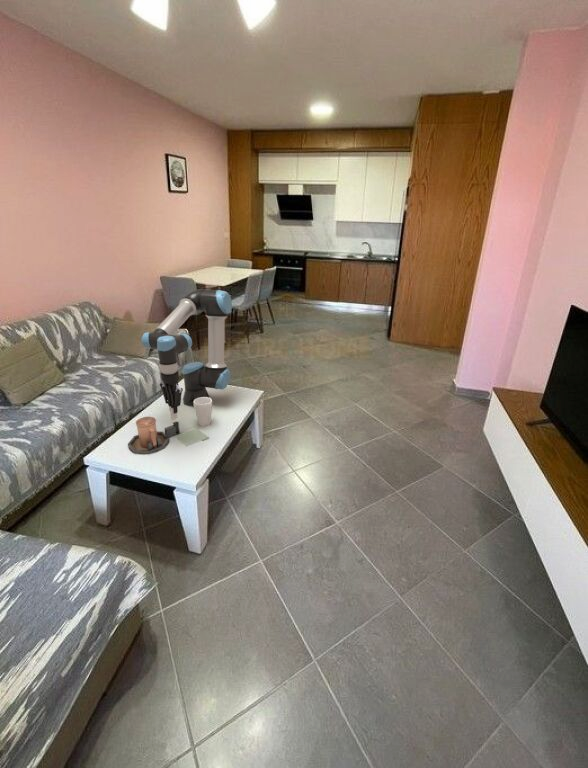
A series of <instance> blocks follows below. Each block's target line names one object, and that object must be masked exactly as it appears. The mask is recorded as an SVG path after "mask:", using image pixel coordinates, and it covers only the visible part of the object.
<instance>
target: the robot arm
mask: <svg viewBox="0 0 588 768" xmlns="http://www.w3.org/2000/svg"><path fill="white" fill-rule="evenodd" d="M232 302H233V301H232V297H231V295H230V294H229V292H227V291H225V290H220V289H204V288H198V289H195V290H193V291H190V292H189V293H187V294H186V295H185V296H183V297H182V298H181V299H180V301H179V303H178V306H177V307H175V308H174V309H173V311H171V312H170V314H169V315H167V317H166V318H164V319H163V320H162V322H160V324H158V326H157V327H156V328H155V329H154V330H153V331H152V332H151V331H149V332H144V333H143V335H142V337H141V343H142V346H143V347H144V348H145V349H150V350H157V353H158V361H159V372H160V379H161V381H162V382H161V383H159V386H160V388H161V392H162V395H163V399H164V403H165V404H167V405H168V407H169V412H170V419H171V420H173V421H174V420H176V419H178V418H179V416H178V415H179V414H178V412H179V410H178V409H179V408H178V407H180V406H181V404H182V402H183V404H184V405H186V406H188V407H194V404H193V401H194V400H195V399H197V398H200V397H208V398H210V394H209V392H208V390H207V388H209V389H215V390H224V389H226V388H227V387H228V385H229V384H230V381H231V371H230V370H229V369H228V368H227V367H228V366H227V364H226V363H225V323H226V322H225V321H226V319H227V318H228V315H229V314H230V313H231V312H232V309H233V303H232ZM197 312H204V313H205V317H206V318H207V319H208V321H207V322H208V326H207V327H208V331H207V332H208V336H207V338H208V341H207V342H208V343H207V344H208V348H207V349H208V352H207V353H208V354H207V357H208V360H207V361H208V362H207V363H206V364H204V362H202V361H194V362H190V363H187V364H184V366H183V368H182V369H183V370H182V372H183V373H182V375H183V380H184V381H183V383H184V393H183V388H182V387H180V386H179V385H180V384H179V381H178V380H179V378H180V373H179V367H178V357H177V356H178V355H180V354H182V353H185V352H186V351H188V350H189V349H190V348H192V346H193V340H192V338H191V336H190V335H188V334H187V333H181V334H179V335H174V334H175V333H176V332H177V331H178V330H179V329H180V327H182V325H183V324H185V322H186V321H187V320H188V319H189V317H190V316H192V315H195V314H196V313H197ZM182 393H183V397H182Z"/></svg>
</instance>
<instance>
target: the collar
mask: <svg viewBox="0 0 588 768" xmlns="http://www.w3.org/2000/svg"><path fill="white" fill-rule="evenodd" d="M178 434H181V433H180V423H179V421H173V422H172V425H169V426H166V427H164V431H161V430H160V431H158V430H157V435H162V436H164V437H165V438H166V440H165V442H164V443H163V445H162V444H161V440H160V439H159V438H156V443H157V445H156V446H157V447H156V448H153V447H152V443H151V442H150V441H148V442H146V443H147V449H148V450H136V449H135V448H134V447H133V446H132V443H133V442H134V441H135V440H136V439H137V438H139V435H138V434H137V435H134V436H133V437H132V438H131V439H130V441H129V442H128V443H127V447H128V449H129V448H130V449H131V450H132V451H133V452H134V453H133V454H135V453H147V454H146V455H151V454H150V453H152V452H155V451H158V450H160V449H162V450H164V449H165V448H166V447H167V446H168V445H167V443H168V441H169V442H170V440H171V439H170V437H172V436H176V435H178ZM166 445H167V446H166ZM165 446H166V447H165ZM163 448H164V449H163ZM158 452H159V451H158ZM152 454H153V453H152Z"/></svg>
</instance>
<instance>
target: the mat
mask: <svg viewBox="0 0 588 768" xmlns="http://www.w3.org/2000/svg"><path fill="white" fill-rule="evenodd" d="M174 437H175V438H176V439H177V440H179V441H180V442H181V443H182V444H183V445H185V446H186V447H188V446H191V445H194V444H195V443H199V442H201V441H203V442H204V441H206V440H209V439H210V437H209V436H208V435H207V434H205V433H204V432H203V431H202V430H200V429H199V428H198V427H195V428H192V429H190V430H187V431H184V432H181V433H179V434H175V435H174Z"/></svg>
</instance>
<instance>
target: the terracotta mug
mask: <svg viewBox="0 0 588 768" xmlns="http://www.w3.org/2000/svg"><path fill="white" fill-rule="evenodd" d="M156 423H157V419H156V418H155V417H153V416H142V417H140V418H138V419H137V420H136V421H135V426H136V427H137V428H136V429H137V435H139V441H140V446H141V447H142V448H147V443H146V442H148V441H150V442H151V443H152V447H154V446H156V445H157V443H156V438H158V436H157V431H158V429H157V424H156Z"/></svg>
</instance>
